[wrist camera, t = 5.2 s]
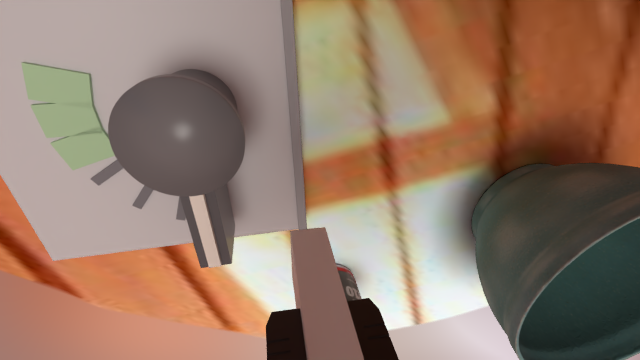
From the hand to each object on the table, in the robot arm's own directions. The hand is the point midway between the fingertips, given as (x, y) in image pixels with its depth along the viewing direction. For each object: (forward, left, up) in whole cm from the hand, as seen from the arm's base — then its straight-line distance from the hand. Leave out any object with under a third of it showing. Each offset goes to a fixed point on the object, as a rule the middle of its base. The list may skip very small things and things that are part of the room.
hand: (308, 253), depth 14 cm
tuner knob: (-2, -5, -9) cm, 10 cm away
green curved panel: (-2, -9, -9) cm, 13 cm away
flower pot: (+8, +21, -11) cm, 25 cm away
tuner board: (-3, -8, -11) cm, 14 cm away
